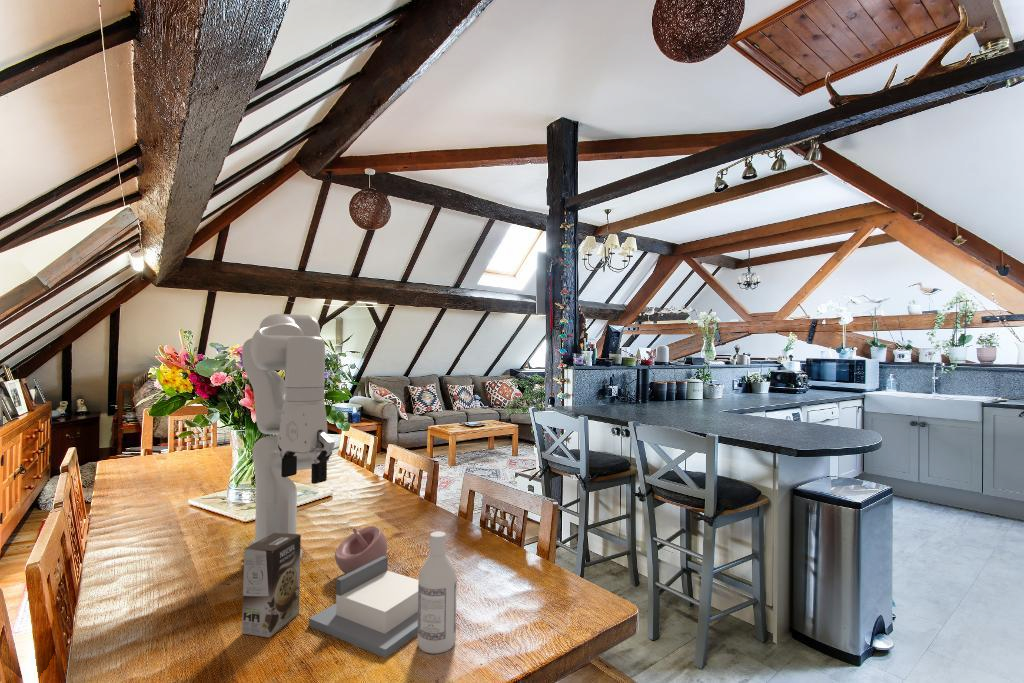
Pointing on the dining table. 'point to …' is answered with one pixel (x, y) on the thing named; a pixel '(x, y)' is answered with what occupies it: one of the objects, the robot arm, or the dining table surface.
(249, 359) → the robot arm
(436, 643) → the bath foam
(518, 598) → the dining table surface
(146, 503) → the dining table surface
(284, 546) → the coffee box
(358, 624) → the display stand
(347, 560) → the mortar and pestle
